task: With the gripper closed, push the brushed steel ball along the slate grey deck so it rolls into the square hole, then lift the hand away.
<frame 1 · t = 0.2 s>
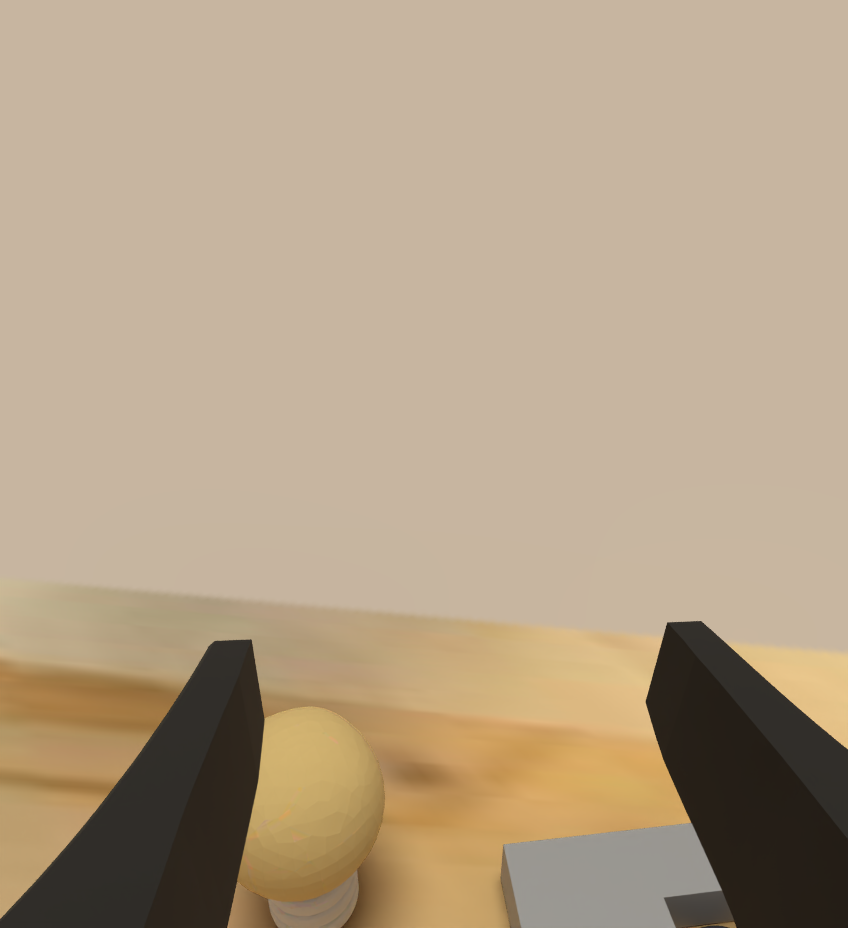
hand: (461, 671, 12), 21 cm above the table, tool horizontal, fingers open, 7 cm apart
light bulb: (316, 903, 28), on the table
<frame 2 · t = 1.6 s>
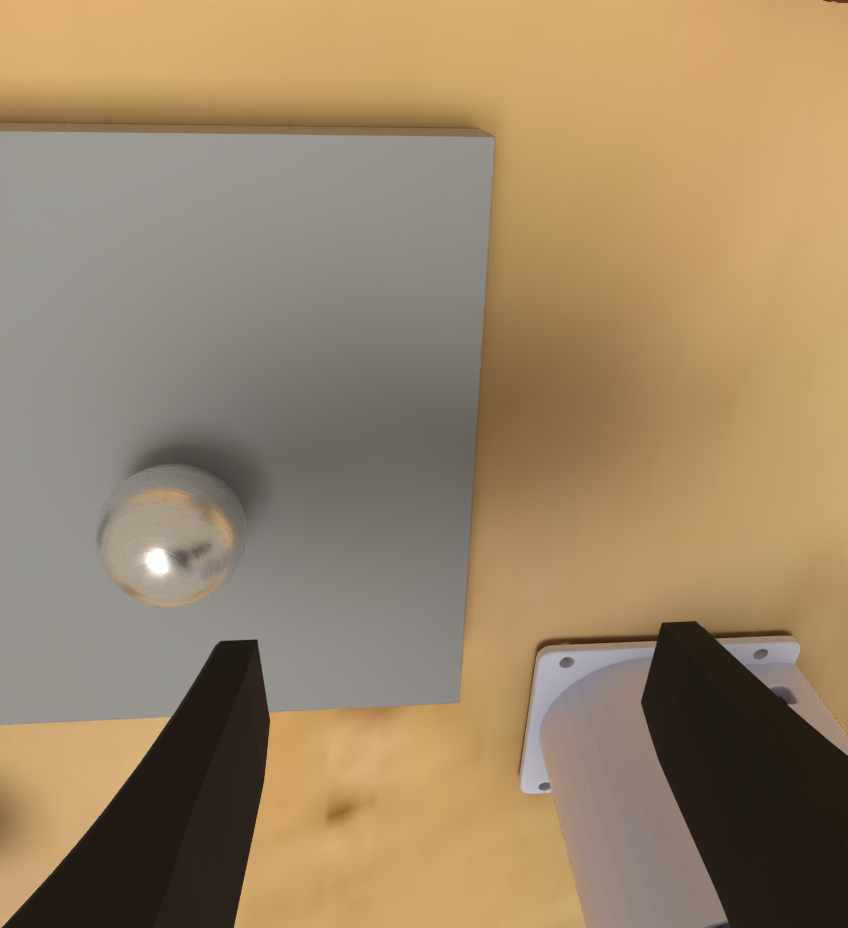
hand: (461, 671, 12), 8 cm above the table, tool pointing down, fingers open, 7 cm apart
hole deck: (100, 448, 18), on the table
steel ball: (174, 534, 15), point 4 cm above the table, touching hole deck
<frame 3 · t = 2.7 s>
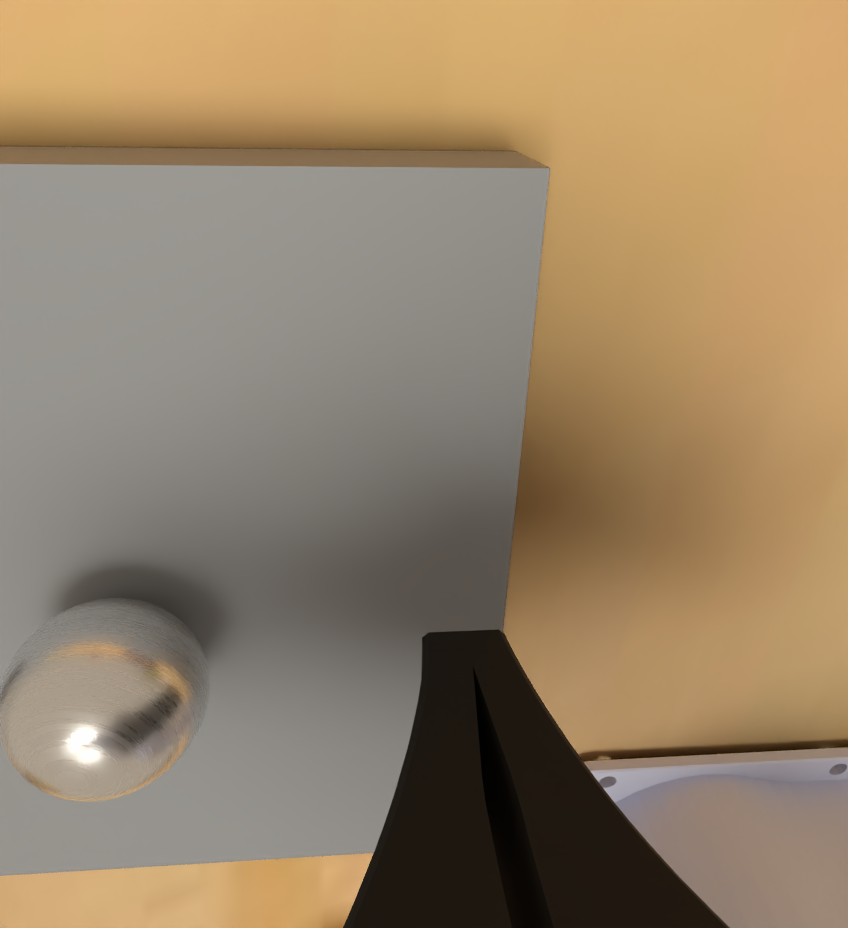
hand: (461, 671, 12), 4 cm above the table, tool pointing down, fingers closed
hole deck: (32, 550, 14), on the table
steel ball: (109, 694, 11), point 4 cm above the table, touching hole deck
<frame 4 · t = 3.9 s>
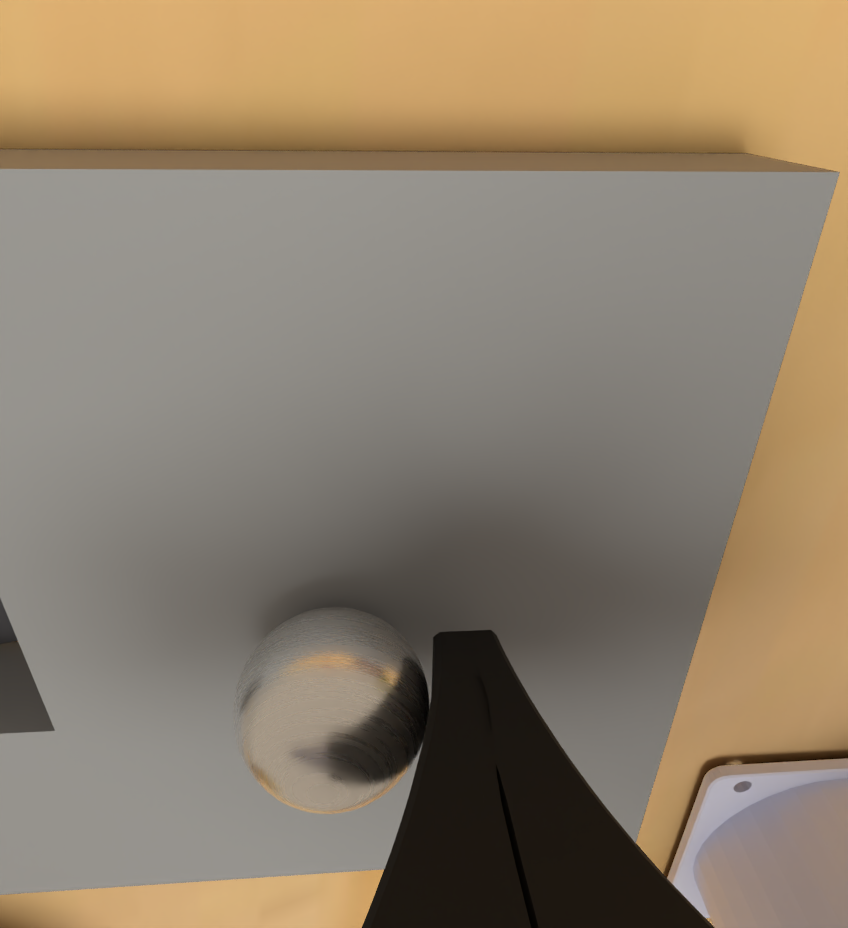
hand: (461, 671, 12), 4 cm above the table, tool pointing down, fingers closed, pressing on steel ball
hole deck: (205, 557, 14), on the table
steel ball: (333, 705, 11), point 4 cm above the table, touching gripper, hole deck
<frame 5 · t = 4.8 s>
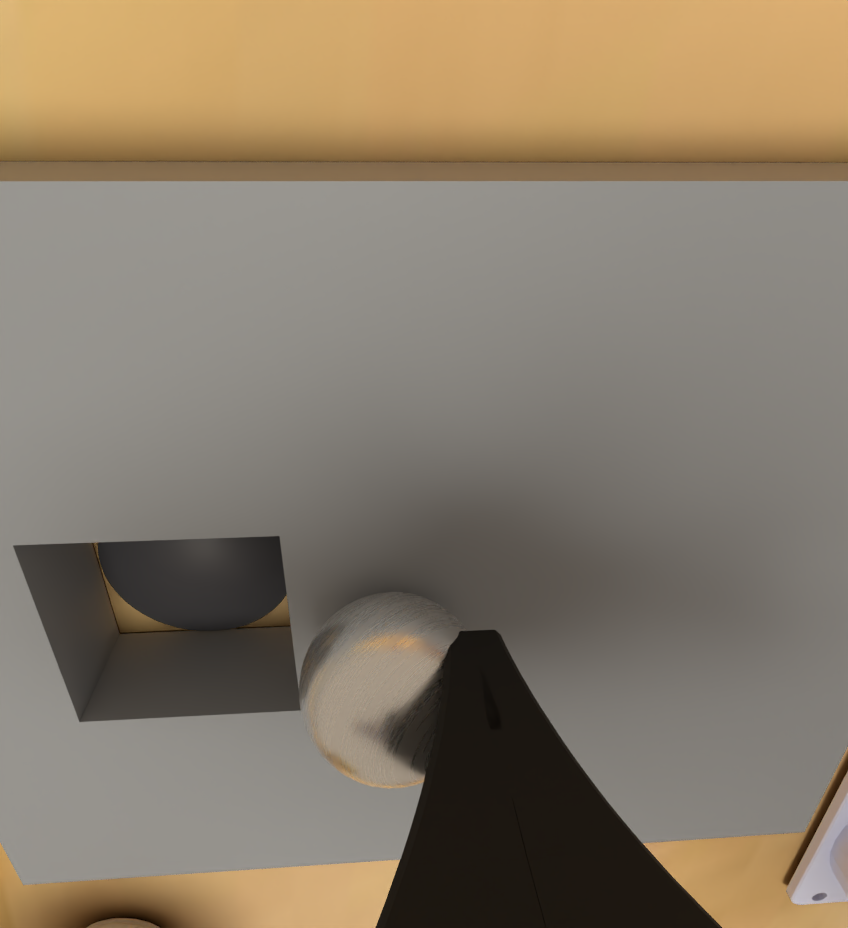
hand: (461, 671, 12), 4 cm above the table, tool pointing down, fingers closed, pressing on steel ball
hole deck: (424, 546, 15), on the table
steel ball: (392, 685, 11), point 4 cm above the table, tilted 140°, touching gripper, hole deck
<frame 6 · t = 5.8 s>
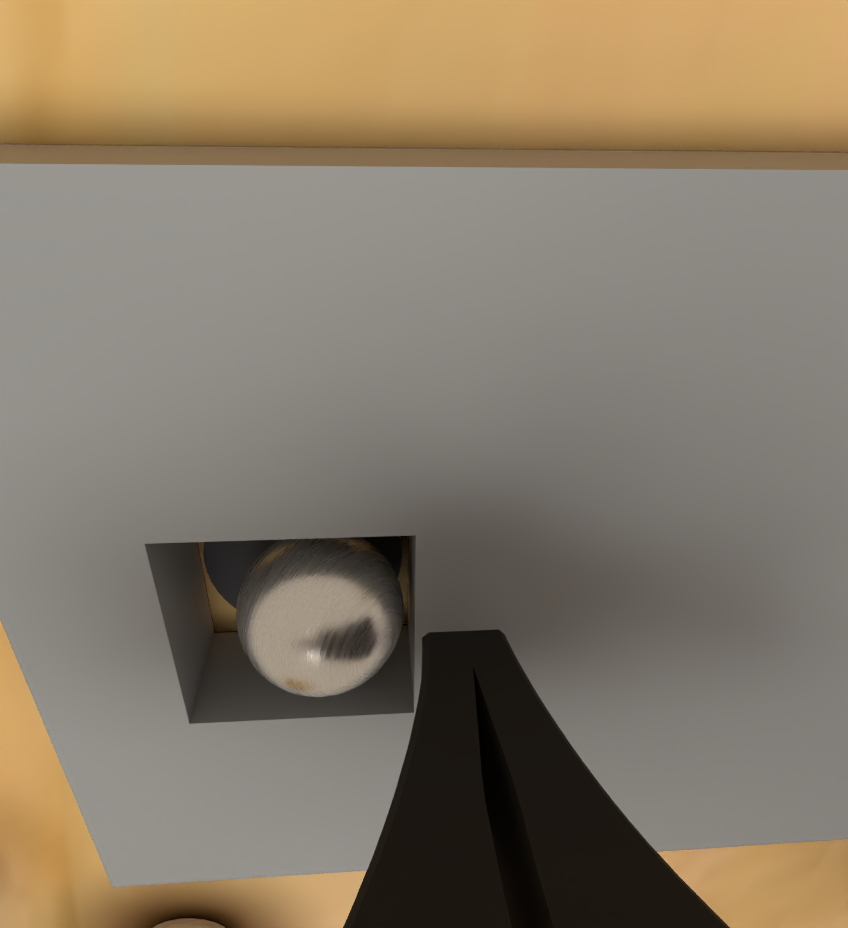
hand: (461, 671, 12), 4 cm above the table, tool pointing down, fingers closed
hole deck: (531, 545, 15), on the table
steel ball: (321, 610, 13), point 2 cm above the table, tilted 49°, touching hole deck
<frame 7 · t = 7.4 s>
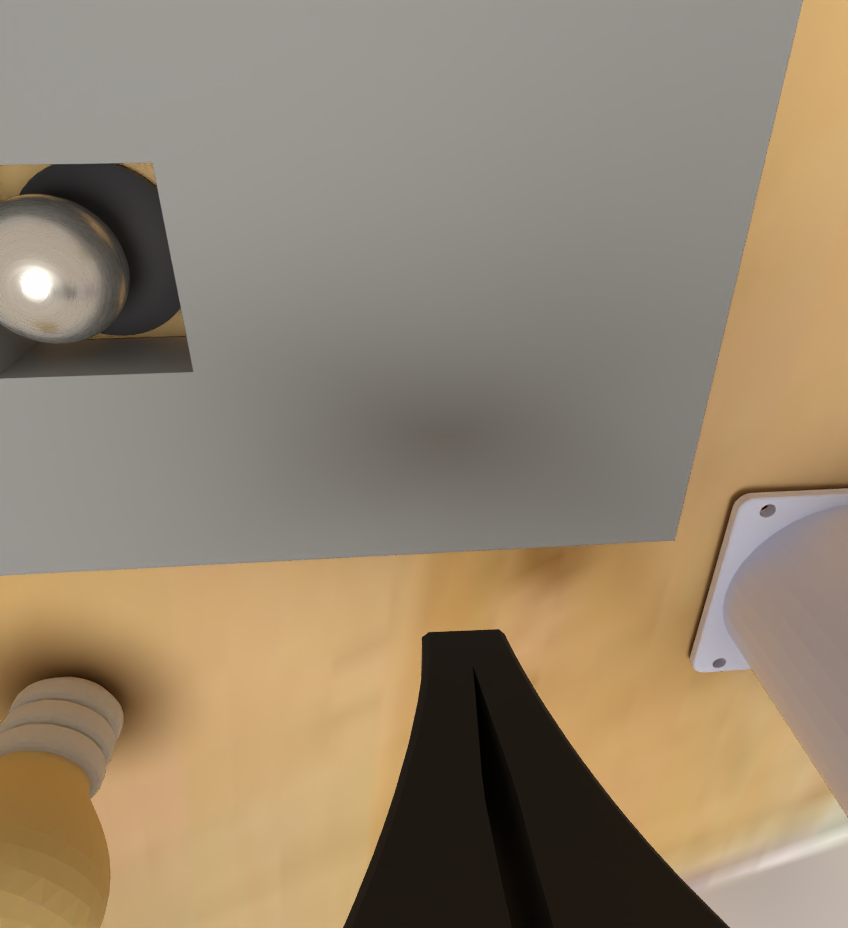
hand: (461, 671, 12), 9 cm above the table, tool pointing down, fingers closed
hole deck: (310, 247, 17), on the table
light bulb: (77, 696, 24), on the table
steel ball: (51, 271, 15), point 2 cm above the table, tilted 11°, touching hole deck
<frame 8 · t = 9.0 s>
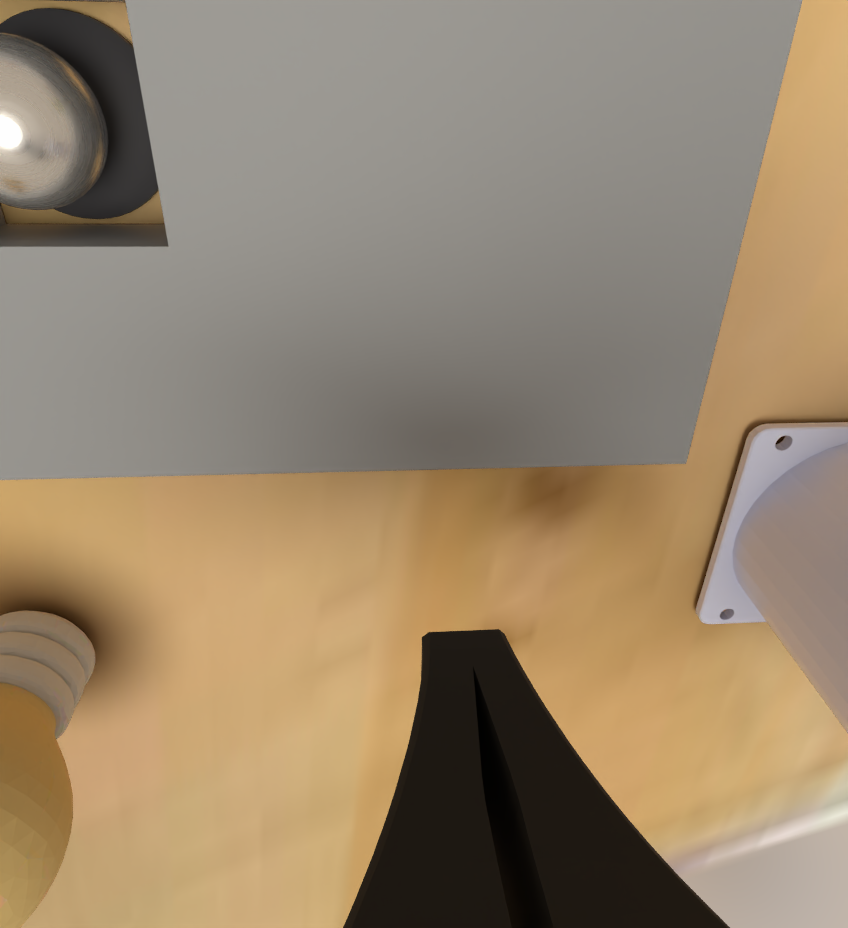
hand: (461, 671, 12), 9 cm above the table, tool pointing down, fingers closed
hole deck: (300, 123, 15), on the table
light bulb: (47, 635, 23), on the table
steel ball: (21, 126, 13), point 2 cm above the table, tilted 16°, touching hole deck
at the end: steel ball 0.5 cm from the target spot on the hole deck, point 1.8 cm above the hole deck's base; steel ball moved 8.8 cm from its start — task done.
